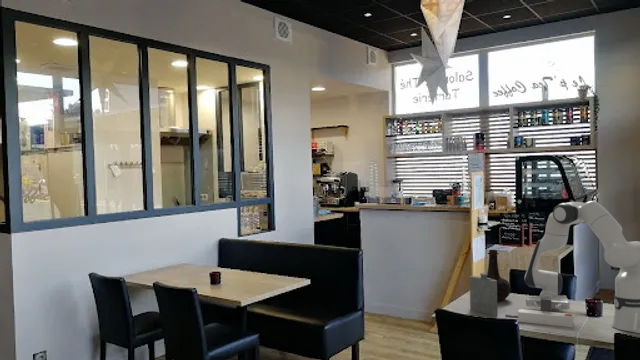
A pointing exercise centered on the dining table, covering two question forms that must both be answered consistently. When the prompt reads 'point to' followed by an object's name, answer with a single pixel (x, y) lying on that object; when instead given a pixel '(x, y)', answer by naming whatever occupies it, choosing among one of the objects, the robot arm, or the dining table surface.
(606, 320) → the dining table surface
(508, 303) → the dining table surface
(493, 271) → the glass bottle
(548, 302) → the charger
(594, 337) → the dining table surface
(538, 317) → the power strip
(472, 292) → the hip flask
